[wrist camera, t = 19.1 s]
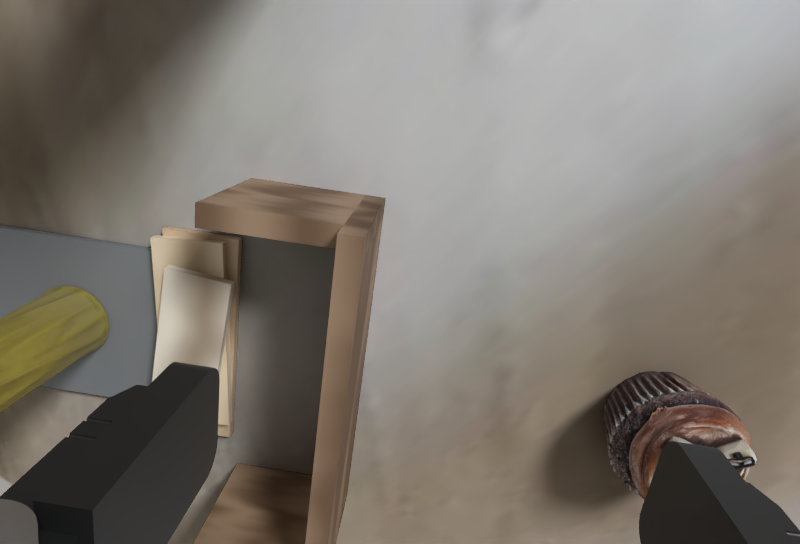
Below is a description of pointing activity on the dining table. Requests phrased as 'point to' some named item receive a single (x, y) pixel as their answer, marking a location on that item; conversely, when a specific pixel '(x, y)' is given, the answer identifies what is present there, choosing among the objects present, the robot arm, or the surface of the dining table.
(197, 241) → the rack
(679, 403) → the cupcake
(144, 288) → the mat
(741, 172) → the dining table surface
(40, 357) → the vase
